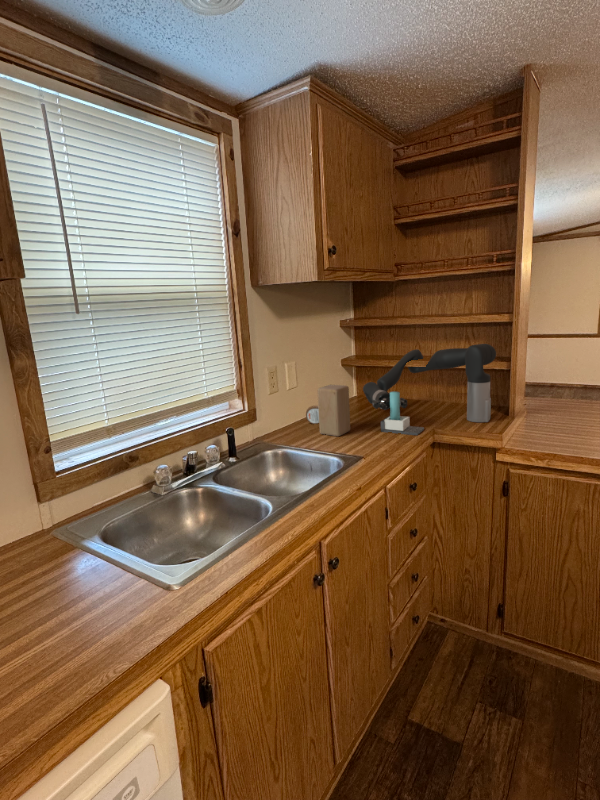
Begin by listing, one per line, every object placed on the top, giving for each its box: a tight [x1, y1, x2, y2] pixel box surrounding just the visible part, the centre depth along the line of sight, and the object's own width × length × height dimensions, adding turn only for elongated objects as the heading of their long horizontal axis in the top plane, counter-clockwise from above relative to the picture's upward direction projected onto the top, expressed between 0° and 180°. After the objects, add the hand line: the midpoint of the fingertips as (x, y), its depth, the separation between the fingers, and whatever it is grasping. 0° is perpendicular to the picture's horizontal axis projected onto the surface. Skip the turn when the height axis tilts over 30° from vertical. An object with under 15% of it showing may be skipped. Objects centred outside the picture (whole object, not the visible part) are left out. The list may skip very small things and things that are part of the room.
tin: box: [305, 405, 319, 425], centre depth 208 cm, size 15×3×8 cm, turn 84°
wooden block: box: [317, 384, 351, 437], centre depth 190 cm, size 10×10×20 cm
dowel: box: [389, 391, 401, 420], centre depth 189 cm, size 4×4×14 cm
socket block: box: [384, 415, 411, 431], centre depth 189 cm, size 8×8×4 cm
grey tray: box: [380, 416, 425, 436], centre depth 188 cm, size 16×9×4 cm, turn 58°
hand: (395, 406), depth 187 cm, fingers open, 8 cm apart
